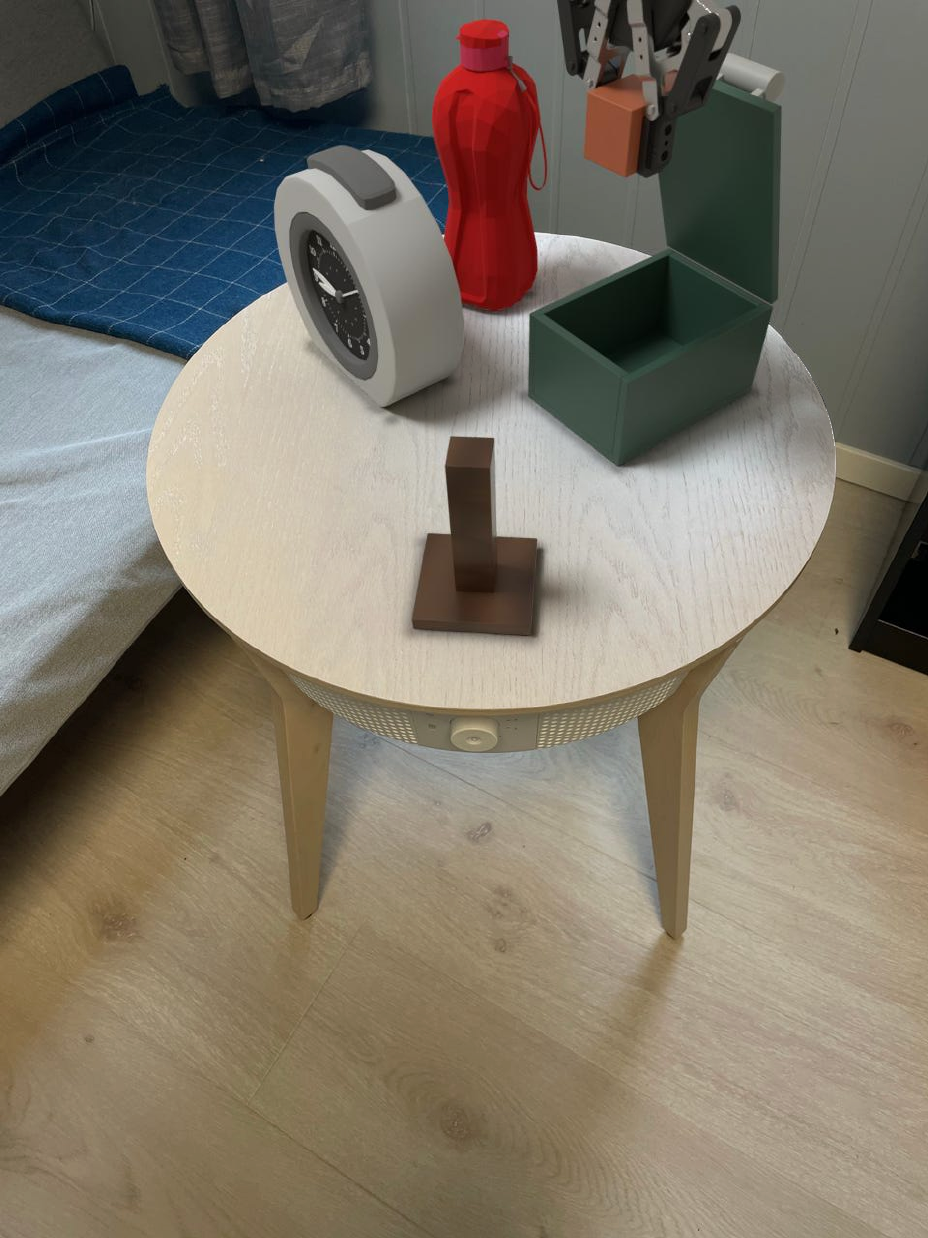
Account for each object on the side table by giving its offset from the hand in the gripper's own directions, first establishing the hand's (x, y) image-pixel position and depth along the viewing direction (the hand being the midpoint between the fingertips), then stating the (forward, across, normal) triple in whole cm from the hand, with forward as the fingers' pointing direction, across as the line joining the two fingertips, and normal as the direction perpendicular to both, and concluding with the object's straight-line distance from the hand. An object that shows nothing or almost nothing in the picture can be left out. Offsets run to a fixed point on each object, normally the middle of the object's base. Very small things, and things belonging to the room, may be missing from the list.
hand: (625, 159), depth 59 cm
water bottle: (+24, +24, -8) cm, 35 cm away
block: (0, 0, 0) cm, 0 cm away
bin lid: (+7, +1, -12) cm, 14 cm away
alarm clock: (+24, +22, +9) cm, 34 cm away
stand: (+24, -8, +20) cm, 32 cm away
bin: (+24, +2, -7) cm, 25 cm away
